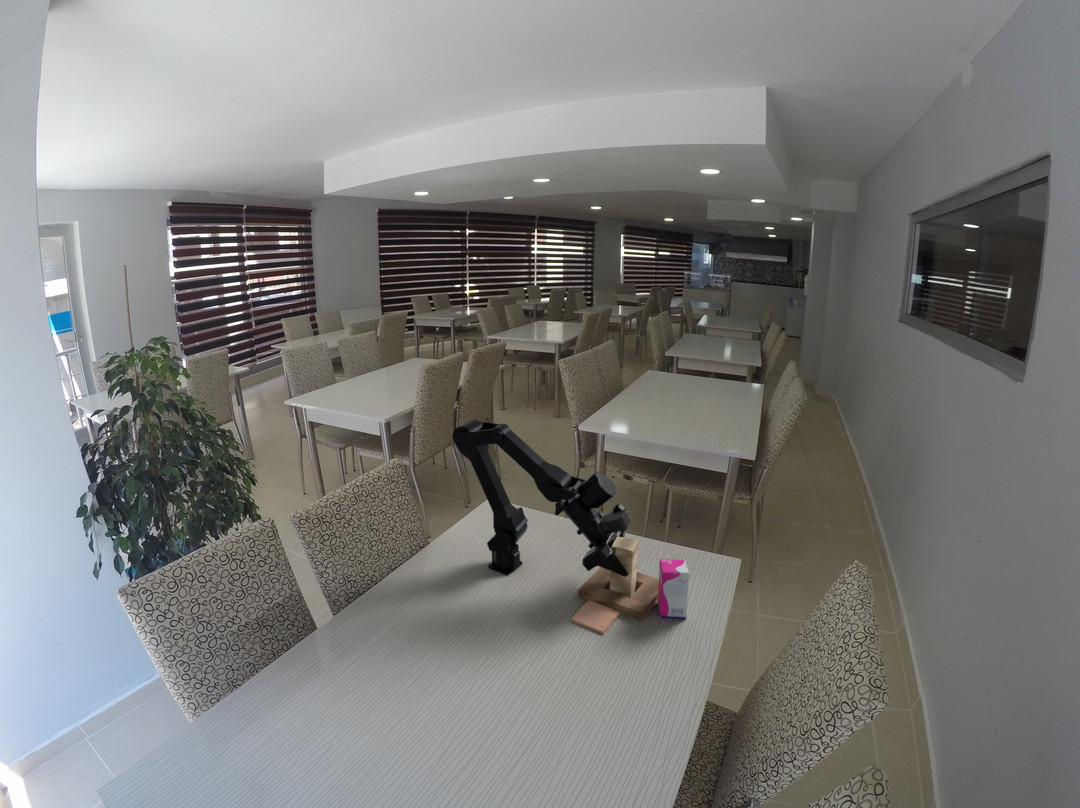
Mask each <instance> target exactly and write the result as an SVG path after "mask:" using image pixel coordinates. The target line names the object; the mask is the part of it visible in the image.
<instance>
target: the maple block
mask: <svg viewBox="0 0 1080 808" xmlns="http://www.w3.org/2000/svg"><path fill="white" fill-rule="evenodd" d="M614 547H615V548H616V557H617V558H618V560H619V561H620V562H621V564H622V565H623V566H624V568H625V569H626V571H627V572H628V576H626V577H624V576H621V575H619V574H617V573H615V572H612V571H610V588H609V590H610V591H612V592H615V593H618V594H621V595H623V596H626V597H629V598H631V597H632V595H633V594H634V593H635V592H636V591H637V590H636V589H637V588H636V574H637V572H638V553H639V540H638V539H633V538H627V537H624V538H623V537H618V536H617V538H616V539H615V541H614V543H613V545H612V546H611V550H612V549H613V548H614Z"/></svg>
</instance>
